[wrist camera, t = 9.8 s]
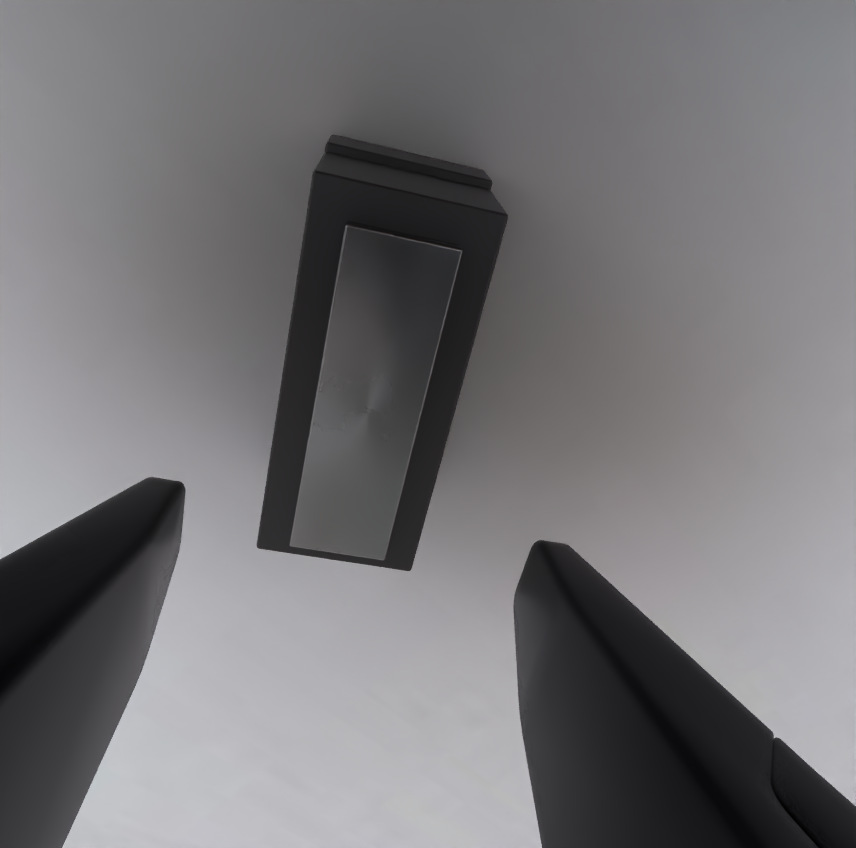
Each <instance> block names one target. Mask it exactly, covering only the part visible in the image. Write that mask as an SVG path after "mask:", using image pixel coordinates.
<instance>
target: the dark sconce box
mask: <svg viewBox="0 0 856 848" xmlns="http://www.w3.org/2000/svg"><path fill="white" fill-rule="evenodd" d="M491 186H492V180H491V179H490V178H489V176H488V175H487V174H486V173H485V171H483V170H480V169H476V168H471V167H467V166H463V165H459V164H455V163H450V162H446V161H442V160H438V159H433V158H429V157H425V156H421V155H417V154H412V153H408V152H404V151H400V150H395V149H391V148H387V147H383V146H379V145H374V144H370V143H366V142H362V141H357V140H353V139H349V138H345V137H341V136H336V135H331V137H330V138H329V140H328V142H327V143H326V147H325V153H324V155H323V157H322V158H321V160H320V162H319V164H318V165H317V167H316V169H315V170H314V172H313V176H312V183H311V189H310V196H309V202H308V209H307V216H306V222H305V229H304V236H303V242H302V249H301V255H300V262H299V269H298V275H297V282H296V289H295V295H294V302H293V308H292V315H291V322H290V328H289V335H288V342H287V348H286V355H285V361H284V368H283V375H282V381H281V388H280V394H279V401H278V408H277V414H276V421H275V428H274V434H273V441H272V447H271V454H270V461H269V467H268V474H267V481H266V487H265V494H264V500H263V507H262V514H261V520H260V527H259V534H258V540H257V548H259V549H266V550H272V551H279V552H286V553H292V554H299V555H306V556H312V557H319V558H326V559H332V560H339V561H346V562H352V563H359V564H365V565H372V566H379V567H385V568H392V569H399V570H405V571H410V570H411V569H412V565H413V562H414V558H415V554H416V551H417V547H418V544H419V540H420V536H421V533H422V529H423V525H424V522H425V518H426V514H427V511H428V507H429V503H430V500H431V496H432V493H433V489H434V485H435V482H436V478H437V474H438V471H439V467H440V463H441V460H442V456H443V452H444V449H445V445H446V441H447V438H448V434H449V431H450V427H451V423H452V420H453V416H454V412H455V409H456V405H457V401H458V398H459V394H460V390H461V387H462V383H463V380H464V376H465V372H466V369H467V365H468V361H469V358H470V354H471V350H472V347H473V343H474V339H475V336H476V332H477V329H478V325H479V321H480V318H481V314H482V310H483V307H484V303H485V299H486V296H487V292H488V288H489V285H490V281H491V278H492V274H493V270H494V267H495V263H496V259H497V256H498V252H499V248H500V245H501V241H502V237H503V234H504V230H505V226H506V223H507V219H508V215H507V213H506V212H505V210H504V209H503V208H502V206H501V205H500V203H499V202H498V200H497V199H496V198H495V196H494V195H493V193H492V192H491V191H490V190H491Z"/></svg>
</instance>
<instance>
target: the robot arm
mask: <svg viewBox="0 0 856 848" xmlns="http://www.w3.org/2000/svg"><path fill="white" fill-rule="evenodd" d="M184 502H185V487H184V484H183V483H182V482H179V481H173V480H167V479H161V478H154V477H149V478H146V479H144V480H142V481H141V482H139V483H137V484H135V485H133V486H132V487H130V488H128V489H126V490H124V491H123V492H121V493H119V494H117V495H115V496H114V497H112V498H110V499H108V500H106V501H105V502H103V503H101V504H99V505H97V506H96V507H94V508H92V509H90V510H88V511H87V512H85V513H83V514H81V515H79V516H78V517H76V518H74V519H72V520H70V521H69V522H67V523H65V524H63V525H61V526H60V527H58V528H56V529H54V530H52V531H51V532H49V533H47V534H45V535H43V536H42V537H40V538H38V539H36V540H34V541H33V542H31V543H29V544H27V545H25V546H24V547H22V548H20V549H18V550H17V551H15V552H13V553H11V554H9V555H8V556H6V557H4V558H2V559H0V848H62V847H63V844H64V842H65V840H66V838H67V836H68V833H69V831H70V829H71V827H72V825H73V822H74V820H75V818H76V816H77V814H78V811H79V809H80V807H81V805H82V803H83V800H84V798H85V796H86V794H87V792H88V789H89V787H90V785H91V783H92V781H93V778H94V776H95V774H96V772H97V770H98V767H99V765H100V763H101V761H102V759H103V756H104V754H105V752H106V750H107V748H108V745H109V743H110V741H111V739H112V737H113V734H114V732H115V730H116V728H117V725H118V723H119V721H120V719H121V717H122V714H123V712H124V710H125V708H126V706H127V703H128V701H129V699H130V697H131V695H132V692H133V690H134V688H135V686H136V683H137V681H138V678H139V676H140V673H141V671H142V668H143V665H144V662H145V660H146V657H147V654H148V651H149V648H150V645H151V641H152V638H153V635H154V632H155V628H156V625H157V622H158V619H159V615H160V612H161V609H162V606H163V602H164V599H165V596H166V593H167V590H168V586H169V583H170V580H171V577H172V573H173V570H174V567H175V564H176V560H177V557H178V553H179V548H180V543H181V534H182V524H183V513H184ZM514 625H515V643H516V661H517V679H518V697H519V710H520V720H521V727H522V734H523V740H524V746H525V751H526V757H527V763H528V769H529V774H530V780H531V786H532V792H533V797H534V803H535V809H536V815H537V820H538V826H539V832H540V838H541V843H542V848H856V806H855V805H853V804H852V803H851V802H850V801H849V800H848V799H846V798H845V797H844V796H843V795H842V794H841V793H840V792H839V791H837V790H836V789H835V788H834V787H833V786H832V785H831V784H830V783H828V782H827V781H826V780H825V779H824V778H823V777H822V776H821V775H819V774H818V773H817V772H816V771H815V770H814V769H813V768H812V767H810V766H809V765H808V764H807V763H806V762H805V761H804V760H803V759H802V758H801V757H799V756H798V755H797V754H796V753H795V752H794V751H793V750H792V749H791V748H790V747H789V746H788V745H786V744H785V743H784V742H783V741H782V740H781V739H780V738H774V735H773V732H772V731H771V730H770V729H769V728H768V727H767V726H765V725H764V724H763V723H762V722H761V721H760V720H759V719H758V718H757V717H756V716H755V715H753V714H752V713H751V712H750V711H749V710H748V709H747V708H746V707H745V706H744V705H743V704H741V703H740V702H739V701H738V700H737V699H736V698H735V697H734V696H733V695H732V694H731V693H729V692H728V691H727V690H726V689H725V688H724V687H723V686H722V685H721V684H720V683H719V682H717V681H716V680H715V679H714V678H713V677H712V676H711V675H710V674H709V673H708V672H707V671H705V670H704V669H703V668H702V667H701V666H700V665H699V664H698V663H697V662H696V661H695V660H693V659H692V658H691V657H690V656H689V655H688V654H687V653H686V652H685V651H684V650H682V649H681V648H680V647H679V646H678V645H677V644H676V643H675V642H674V641H673V640H672V639H670V638H669V637H668V636H667V635H666V634H665V633H664V632H663V631H662V630H661V629H660V628H658V627H657V626H656V625H655V624H654V623H653V622H652V621H651V620H650V619H649V618H648V617H646V616H645V615H644V614H643V613H642V612H641V611H640V610H639V609H638V608H637V607H636V606H634V605H633V604H632V603H631V602H630V601H629V600H628V599H627V598H626V597H625V596H624V595H622V594H621V593H620V592H619V591H618V590H617V589H616V588H615V587H614V586H613V585H612V584H610V583H609V582H608V581H607V580H606V579H605V578H604V577H603V576H602V575H601V574H600V573H598V572H597V571H596V570H595V569H594V568H593V567H592V566H591V565H590V564H589V563H588V562H586V561H585V560H584V559H583V558H582V557H581V556H580V555H579V554H578V553H577V552H575V551H574V550H573V549H572V548H571V547H570V546H569V545H566V544H563V543H557V542H550V541H544V540H539V541H537V542H535V543H534V545H533V546H532V548H531V550H530V552H529V555H528V558H527V561H526V563H525V566H524V569H523V572H522V574H521V577H520V580H519V583H518V585H517V588H516V592H515V597H514Z"/></svg>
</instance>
